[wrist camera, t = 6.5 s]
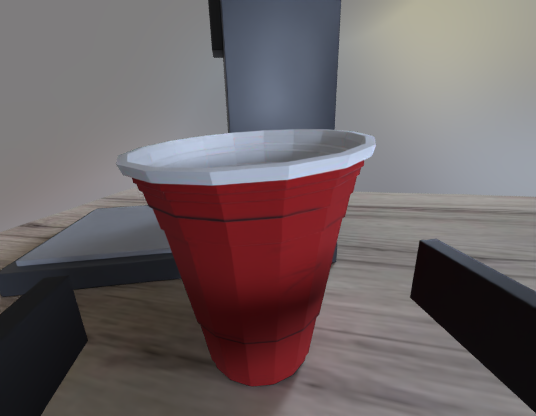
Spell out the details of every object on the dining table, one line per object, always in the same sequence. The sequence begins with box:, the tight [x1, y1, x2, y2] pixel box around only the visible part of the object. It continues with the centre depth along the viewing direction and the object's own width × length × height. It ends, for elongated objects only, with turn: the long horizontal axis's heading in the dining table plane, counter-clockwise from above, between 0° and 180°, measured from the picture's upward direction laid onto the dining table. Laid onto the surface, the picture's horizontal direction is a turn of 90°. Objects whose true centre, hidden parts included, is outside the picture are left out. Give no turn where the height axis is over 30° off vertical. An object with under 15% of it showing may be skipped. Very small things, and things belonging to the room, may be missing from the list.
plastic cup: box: [116, 129, 376, 386], centre depth 14 cm, size 11×11×12 cm
